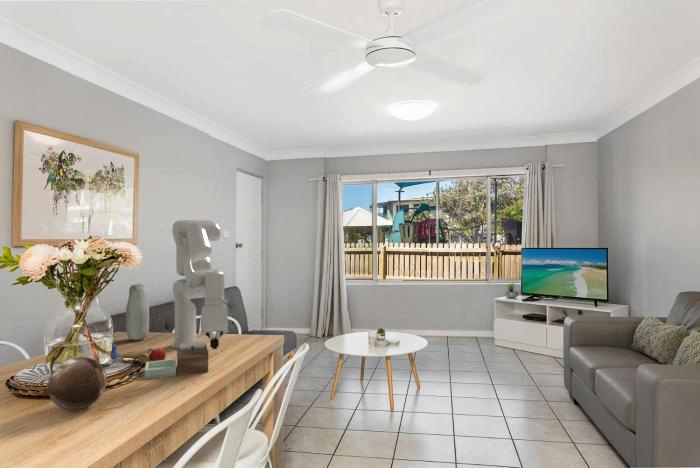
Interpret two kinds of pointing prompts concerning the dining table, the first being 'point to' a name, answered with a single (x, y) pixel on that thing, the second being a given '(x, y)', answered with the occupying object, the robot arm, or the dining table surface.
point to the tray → (160, 368)
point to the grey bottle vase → (137, 313)
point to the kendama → (149, 355)
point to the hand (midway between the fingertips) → (214, 348)
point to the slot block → (192, 361)
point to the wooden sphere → (77, 383)
